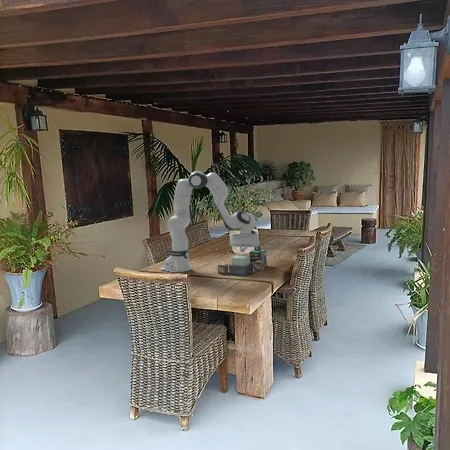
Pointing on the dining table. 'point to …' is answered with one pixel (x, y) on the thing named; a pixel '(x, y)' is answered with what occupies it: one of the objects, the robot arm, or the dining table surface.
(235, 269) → the gray tray
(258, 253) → the chalk box
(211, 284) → the dining table surface
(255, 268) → the walnut block right
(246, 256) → the plain block
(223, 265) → the walnut block left
